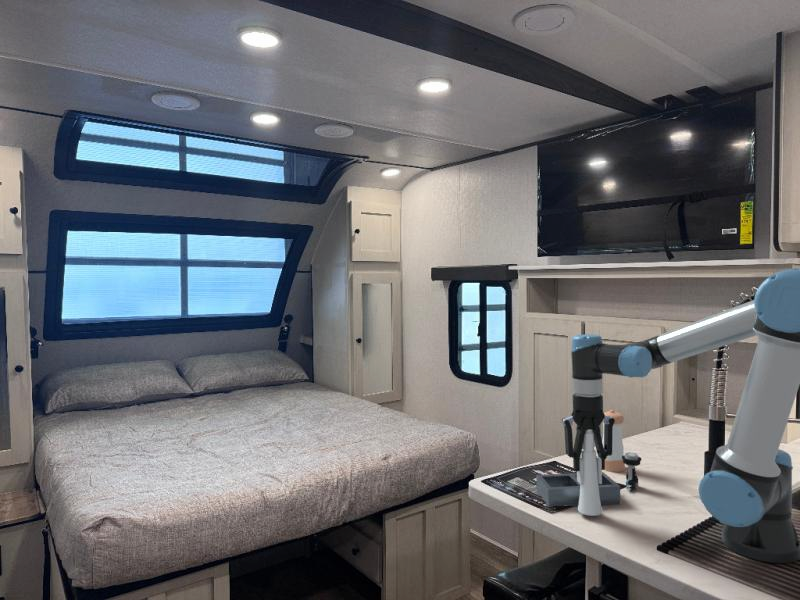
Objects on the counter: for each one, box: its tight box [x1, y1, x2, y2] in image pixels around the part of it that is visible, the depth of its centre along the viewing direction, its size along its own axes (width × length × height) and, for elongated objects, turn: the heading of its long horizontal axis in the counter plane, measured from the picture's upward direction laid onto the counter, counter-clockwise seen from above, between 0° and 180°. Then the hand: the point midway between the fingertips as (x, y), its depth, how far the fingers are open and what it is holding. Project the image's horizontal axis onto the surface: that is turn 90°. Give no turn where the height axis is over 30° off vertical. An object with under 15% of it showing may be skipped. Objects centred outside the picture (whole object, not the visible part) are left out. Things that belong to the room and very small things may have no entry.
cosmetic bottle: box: [577, 429, 603, 517], centre depth 142 cm, size 6×6×22 cm
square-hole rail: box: [535, 471, 621, 508], centre depth 154 cm, size 20×11×5 cm, turn 92°
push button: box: [622, 452, 642, 491], centre depth 159 cm, size 7×5×10 cm
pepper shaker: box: [601, 409, 626, 473], centre depth 176 cm, size 7×7×19 cm
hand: (589, 482), depth 142 cm, fingers closed on cosmetic bottle, 4 cm apart
